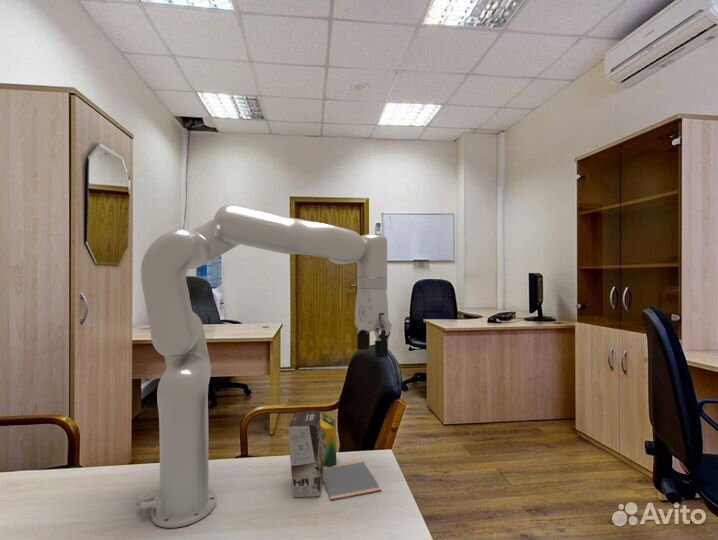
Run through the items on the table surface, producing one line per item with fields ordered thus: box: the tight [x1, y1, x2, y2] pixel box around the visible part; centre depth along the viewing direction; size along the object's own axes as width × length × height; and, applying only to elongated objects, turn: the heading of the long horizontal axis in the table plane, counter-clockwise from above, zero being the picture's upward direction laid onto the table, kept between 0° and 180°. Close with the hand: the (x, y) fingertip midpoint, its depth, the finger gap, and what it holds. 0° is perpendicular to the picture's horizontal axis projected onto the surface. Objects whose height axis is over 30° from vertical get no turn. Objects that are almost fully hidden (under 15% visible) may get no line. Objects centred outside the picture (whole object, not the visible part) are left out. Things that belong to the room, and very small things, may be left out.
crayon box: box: [320, 412, 338, 467], centre depth 100 cm, size 7×3×12 cm, turn 33°
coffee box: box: [287, 410, 325, 498], centre depth 89 cm, size 9×6×16 cm
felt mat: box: [322, 460, 382, 502], centre depth 91 cm, size 12×14×1 cm
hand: (371, 353), depth 93 cm, fingers open, 9 cm apart
